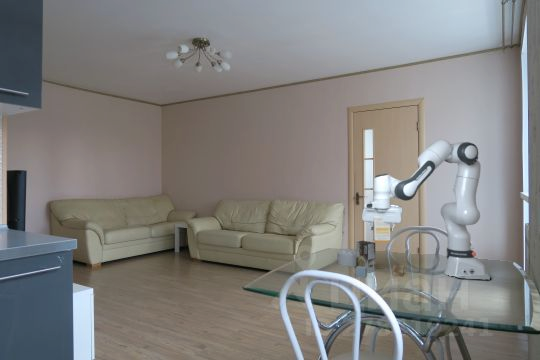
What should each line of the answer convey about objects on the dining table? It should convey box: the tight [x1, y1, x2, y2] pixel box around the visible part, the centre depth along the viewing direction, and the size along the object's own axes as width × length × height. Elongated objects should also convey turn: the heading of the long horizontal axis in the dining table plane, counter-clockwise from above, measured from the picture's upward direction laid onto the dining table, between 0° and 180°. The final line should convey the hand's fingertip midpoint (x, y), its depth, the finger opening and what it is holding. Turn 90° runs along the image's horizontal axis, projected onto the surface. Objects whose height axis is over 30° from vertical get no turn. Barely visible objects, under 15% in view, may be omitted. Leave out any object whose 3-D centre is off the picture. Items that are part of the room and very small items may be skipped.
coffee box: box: [355, 240, 376, 273], centre depth 216 cm, size 9×6×16 cm
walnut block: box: [392, 264, 405, 278], centre depth 206 cm, size 5×5×5 cm
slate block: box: [355, 266, 368, 279], centre depth 203 cm, size 5×5×5 cm
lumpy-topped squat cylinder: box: [337, 248, 356, 267], centre depth 230 cm, size 10×13×9 cm
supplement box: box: [372, 217, 391, 243], centre depth 200 cm, size 8×5×13 cm, turn 82°
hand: (381, 230), depth 200 cm, fingers closed on supplement box, 8 cm apart
